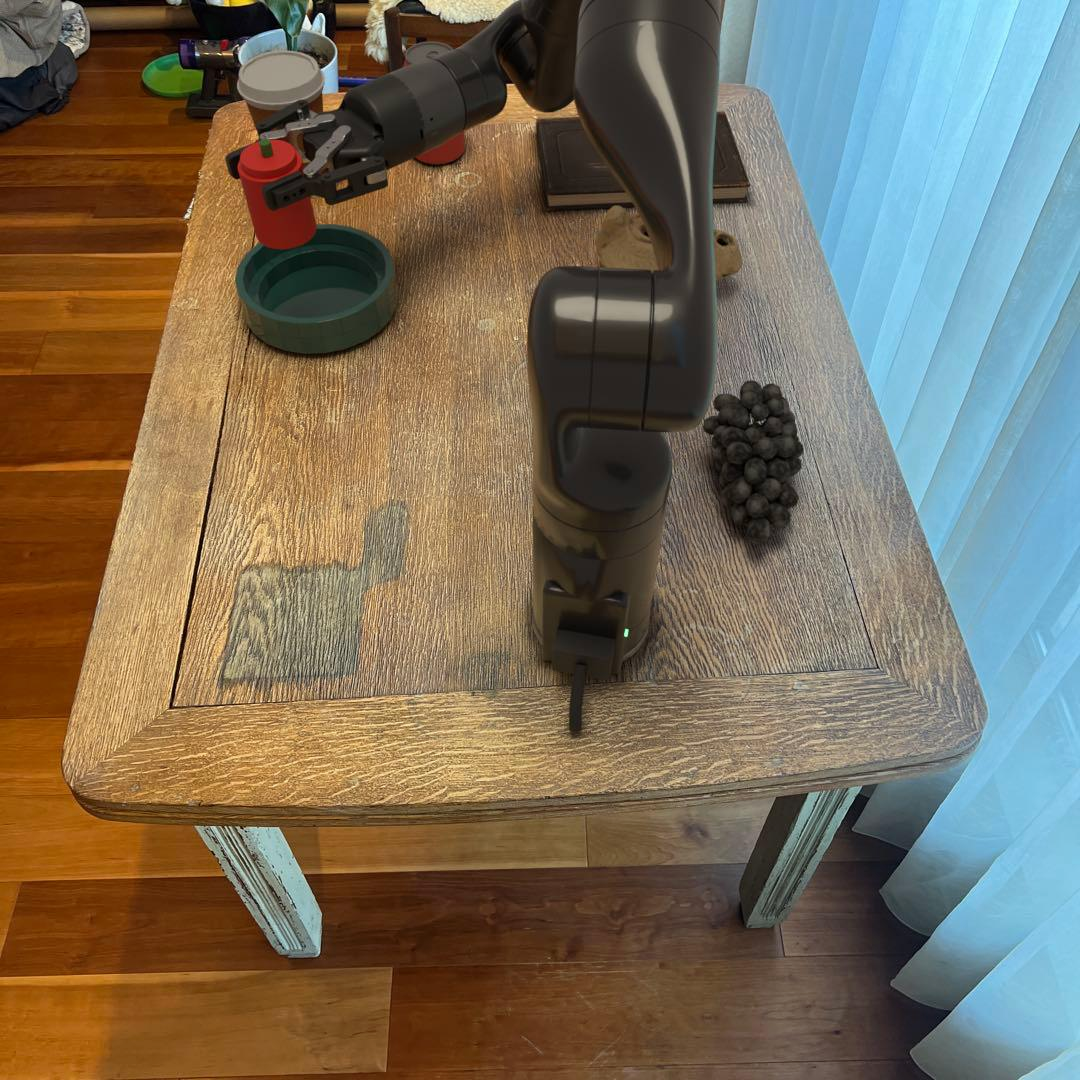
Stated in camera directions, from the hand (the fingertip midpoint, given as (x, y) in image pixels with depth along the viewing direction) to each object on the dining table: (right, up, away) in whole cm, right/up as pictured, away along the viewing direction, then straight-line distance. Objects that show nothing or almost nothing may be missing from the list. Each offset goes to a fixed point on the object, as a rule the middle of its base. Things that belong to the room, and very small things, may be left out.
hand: (248, 183), depth 89 cm
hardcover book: (+37, +13, +32) cm, 51 cm away
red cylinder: (+2, -2, +6) cm, 6 cm away
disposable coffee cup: (-3, +13, +32) cm, 34 cm away
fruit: (+44, -27, +1) cm, 51 cm away
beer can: (+13, +15, +34) cm, 40 cm away
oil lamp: (+39, -4, +19) cm, 44 cm away
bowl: (+3, -7, +16) cm, 18 cm away
